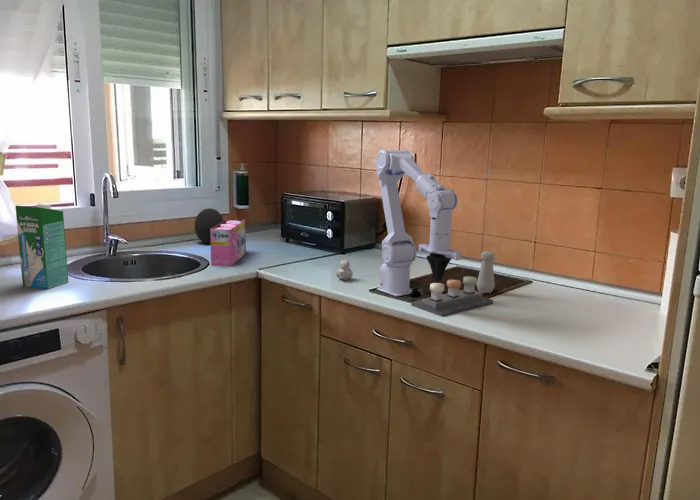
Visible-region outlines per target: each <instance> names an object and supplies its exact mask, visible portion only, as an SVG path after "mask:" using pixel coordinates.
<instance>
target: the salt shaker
mask: <svg viewBox="0 0 700 500" xmlns="http://www.w3.org/2000/svg"><path fill="white" fill-rule="evenodd" d="M495 256H496V255H495V252H492V251H486V250H485V251H483V252H481V253H480V259H481V264H480V269H479V273H478V277H477V284H476V285H475V286H476V288H477V291H479V292H481V293H483V294H485V293H489V294H492V293H493V291H494V290H495V288H496V282H495V272H494V263H493V261H494V260H495V258H496V257H495ZM491 292H492V293H491Z"/></svg>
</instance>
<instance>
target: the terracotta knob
mask: <svg viewBox="0 0 700 500" xmlns="http://www.w3.org/2000/svg"><path fill="white" fill-rule="evenodd" d="M461 286H462V281H461V280H459V279H447V281H446V288H447V293H448V295H450V296H453V297H454V296H459V291H460V288H461Z"/></svg>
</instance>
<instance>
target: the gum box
mask: <svg viewBox="0 0 700 500" xmlns="http://www.w3.org/2000/svg"><path fill="white" fill-rule="evenodd" d="M223 220H224V221H223V222H221V223H220V224H218V225H216V226H215V227H213V228H211V229H210V235H211V244H210V266H216V267H217V266H220V267H221V266H222V267H223V266H224V267H233V265H235V264H236V263H237V262H238V261H239V260H240V259H241V258H242V257H243V256H244V255H245V254H247V245H246V244H247V243H246V242H247V241H246V237H247V236H246V220H245V219H242V220H241V221H240V220H231V219H230V218H227V219H226V218H225V219H223Z"/></svg>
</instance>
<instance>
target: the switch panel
mask: <svg viewBox="0 0 700 500" xmlns="http://www.w3.org/2000/svg"><path fill="white" fill-rule="evenodd" d="M483 294H484V293H481V292H478V290H476V289H475V290H474V292H472V293H468V292H464V289H460V290H459V296H454V297H453V296H450V295H448V292H447V293H444V294H443V293H442V299H441V300H434V299H431V296H430V297H426V298H422V299H419V300H414V301H411V305H410V306H413V307H414V308H417V309H420V310H422V311H426V312H429V313H431V314H434V315H437V316H440V317H445V316H448V315H452V314H456V313H461V312H463V311H464V312H465V311H468V310H473V309H476V308H480V307H484V306H488V305H492V304H493V303H494V300H493V299H490V298H488V297H484V296H483Z"/></svg>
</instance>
